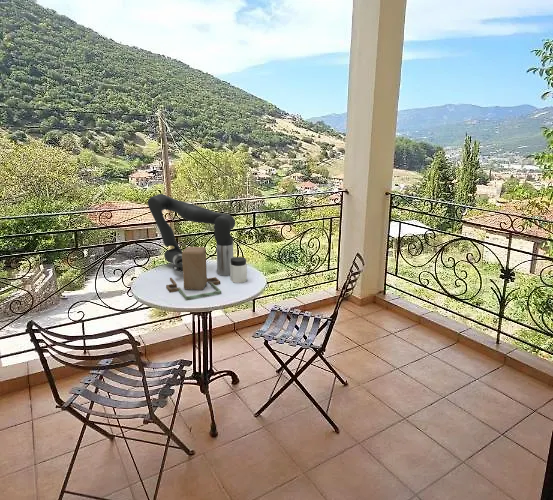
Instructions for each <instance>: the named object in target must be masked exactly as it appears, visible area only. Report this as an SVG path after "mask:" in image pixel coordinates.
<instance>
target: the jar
mask: <svg viewBox="0 0 553 500" xmlns="http://www.w3.org/2000/svg"><path fill="white" fill-rule="evenodd" d="M247 271H248V264H247V259H246V257H242V256H234V258H231V263H230V275H229V276H230V277H229V279H230V281H231V282H232V283H237V284H242V283H244V282H247V281H248V272H247Z"/></svg>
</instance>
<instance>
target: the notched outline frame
mask: <svg viewBox="0 0 553 500" xmlns="http://www.w3.org/2000/svg"><path fill="white" fill-rule="evenodd" d="M169 281H170V282H171V284H166V286H165V288H166V290H167V291H168V292H169V293H177V292H179V293H180V295H181V296H182V297H183V299H184V300H185V301H190V300H191V301H192V300H195V299H201V298H205V297H212V296H216V295H217V296H218V295H221V294H222V290H221V288H219V287H218V285H221V280H220V279H219V278H217V276H215V277H209V278H208V277H207V284H209V286H210V287H211V288H213V289H214V290H215V291H210V292H204V293H203V292H202V293H198V294H192V295H187V294H186V293H185V292H184V291H183V289H182V288H181V287H178V284H177V283H176V281H175V280H174V279H173V278H172V277H169Z"/></svg>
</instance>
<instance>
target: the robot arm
mask: <svg viewBox="0 0 553 500" xmlns="http://www.w3.org/2000/svg"><path fill="white" fill-rule="evenodd" d="M147 206H148V209H149V211H150V213H151V215H152V217H153V219H154V222H155V223H156V225H157V227H158V230H159V232H160V235H161V239H162V242H163V245H164V246H165V247H173V248H170V249H168V250H165V251H164V255H163V257H164V259H165V260H166V261H167V262H168V263H172V264H173V270H174V271H177V272H183V263H182V252H183V250H182V248H180V246H179V244H178V242H177V240H176V237H175V233H174V230H173V229H172V227H171V225H170V224H169V223H168V222H167V220H166V219H165V217H164V215H163V211H165V210H169V211H170V212H171V211H172V212H174V213H176V214H178V216H179V217H180V218H182V219H184V220H186V221H190V222H193V223H199V224H211V225H214V226H213V227H214V228H213V232H214V233H213V234H214V239H215V242H216V243H215V244H216V274H217V275H219V276H224V277H225V276H230V263H231V258H234V257H235V256H234V239H233V237H231V230H232V229H234V228H235V226H236V220H235V218H234V217H233V216H232V215H230V214H228V213H225V212H224V213H222V212H218V211H214V210H210V209H207V208H205V207H202V206H199V205H196V204H193V203H188V202H185V201H181V200H178V199H176V198H173V197H170V196H168V195H166V194H164V193H159V194H156V195H153V196H150V198H148V200H147Z"/></svg>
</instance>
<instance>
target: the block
mask: <svg viewBox="0 0 553 500" xmlns="http://www.w3.org/2000/svg"><path fill="white" fill-rule="evenodd" d="M206 251H207V250H206V247H205V246H186V248H185V249H183V250H182V263H183V271H182V277H183V279H182V280H183V288H184V290H195V291H196V290H198V291H201V290H202V291H203V289H204V288H205V287H206V285H207V284H208V282H207V278H208V277H207V276H208V275H207V272H208V270H207V252H206Z"/></svg>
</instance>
